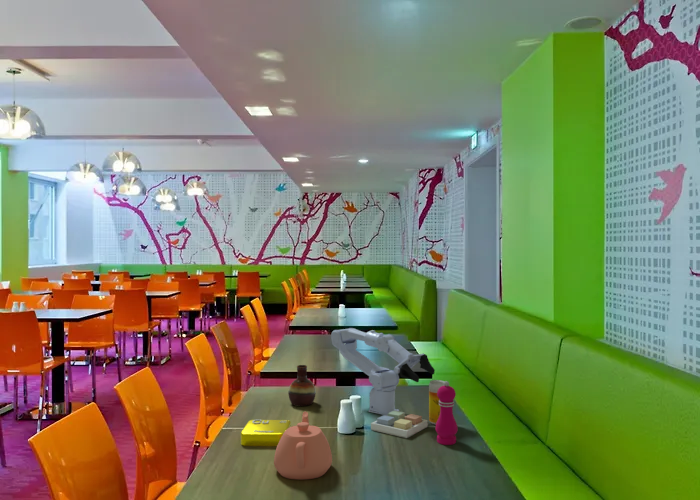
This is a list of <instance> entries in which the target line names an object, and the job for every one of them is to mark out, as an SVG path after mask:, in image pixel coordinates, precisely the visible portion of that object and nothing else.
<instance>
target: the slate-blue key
mask: <svg viewBox="0 0 700 500" xmlns="http://www.w3.org/2000/svg"><path fill="white" fill-rule="evenodd" d="M376 421H377V424H381V425H385V426H391V425H393V424H394V422H395V417H390V416H387V415H381V416H379V417H377V418H376Z"/></svg>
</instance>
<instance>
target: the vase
mask: <svg viewBox="0 0 700 500" xmlns="http://www.w3.org/2000/svg"><path fill="white" fill-rule="evenodd" d="M307 370H308V365H306V364H298V365H297V366H296V372H297V375H296V376H297V378H295V379H294V380H293V381H292V382H291V383H290V385H289V388H288V398H289V401H290V403H291V404H292V405H293V406H295V407H307V406H310V405H312V404H313V402H314V401H315V399H316V386H315V384H314V382H312V381H311V380H310V379H309V378H308V377H307V376H308V375H307V372H308V371H307Z"/></svg>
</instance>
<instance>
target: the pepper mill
mask: <svg viewBox="0 0 700 500" xmlns="http://www.w3.org/2000/svg"><path fill="white" fill-rule="evenodd" d="M437 396H438V398H439V399H440V400H439V405H440V416H439V418H438V420H437V422H436V425H435V429H434V430H435V432H436V434H437V435H436V442H437V443H438V444H439V445H443V446H452V445H455V444H456V442H457V436H456V434H457V433H458V428H459V427H458V424H457V422H456V419H455V416H454V414H453V413H454V412H453V407H454V406H455V401H454V400H455V398H456V396H457V394H456V390H455V388H454V387H453V386H450V382H449V381H447V380H445V381H444V386H441V387H440V388H439V389H438V391H437Z"/></svg>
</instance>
